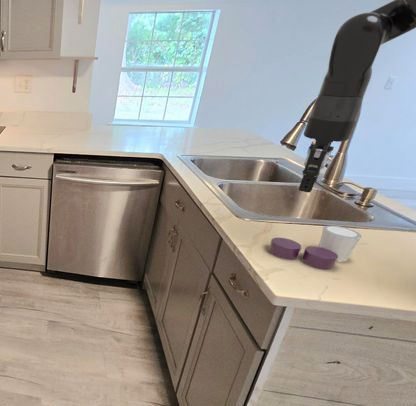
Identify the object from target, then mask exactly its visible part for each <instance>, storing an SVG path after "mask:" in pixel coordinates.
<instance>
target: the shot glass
mask: <svg viewBox="0 0 416 406" xmlns="http://www.w3.org/2000/svg"><path fill="white" fill-rule="evenodd" d="M361 238H362V235H361V234H360V233H359V232H358V231H356V230H354V229H351V228H348V227H344V226H339V225H324V226H323V227H322V231H321V236H320V240H319V244H318V247H321V248H325V249H328V250H330V251H333V252H334V253H336V254H337V255H338V258H337V261H336V262H338V263H345V262H347V261H348V260H349V257H350V256H351V254H352V253H353V251H354V249H355V248H356V246H357V244H358V243H359V242H360V239H361Z"/></svg>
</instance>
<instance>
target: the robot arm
mask: <svg viewBox="0 0 416 406" xmlns="http://www.w3.org/2000/svg"><path fill="white" fill-rule="evenodd" d="M415 29H416V0H392V1H390V2H388V3H386V4H384V5H382V6H380V7H378V8H376V9H374V10H372V11H369V12H362V13H359V14H356V15H354V16H352V17H350V18H348V19H347V20H345V22H343V23H342V25H340V27H339V28H338V30H337V32H336V34H335V36H334V40H333V42H332V46H331V50H330V56H329V61H328V65H327V69H326V73H325V74H324V75H325V76H324V77H323V80H322V83H321V86H320V89H319V92H318V95H317V97H316V98H315V101H314V103H313V105H312V107H311V111H310V114H309V116H308V120H307V122H306V126H305V128H304V130H303V136H304V137H305V138H307V139H310V140H315V143H310V145H309V146H308V149H307V152H306V154H307V155H306V157H305V160H304V163H303V164H304V169H303V170H302V178H301V181H300V184H299V186H298V191H299V192H303V193H311V192H312V190H313V188H314V186H315V183H317V181H318V178H319V176H320V173H321V170H322V169H324V168H326V167H325V166H326V164H327V162H328V160H329V158H331V156H332V153H333V151H334V148H335V147H334V146H332V143H334V142H336V143H338V142H339V143H341V142H345V141H348V140H349V139H350V137H351V134H352V132H353V130H354V127H355V125H356V122H357V119H358V116H359V115H360V112H361V109H362V106H363V101H364V96H365V94H366V91H367V89H368V87H369V84H370V81H371V79H372V75H373V65H374V63H375V60H376V57H377V55H378V52H379V51H380V47H381V46H382V45H384V44H386V43H388V42H390V41H392V40H394V39H397V38H398V37H400V36H402V35H404V34H407V33H409V32H411V31H412V30H415Z"/></svg>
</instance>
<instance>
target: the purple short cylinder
mask: <svg viewBox="0 0 416 406" xmlns="http://www.w3.org/2000/svg"><path fill="white" fill-rule="evenodd" d="M337 258H338V255H337V254H336V253H334V252H333V251H330V250H328V249H325V248H321V247H319V246H315V245H310V246H306V247H305V248H304V251H303V253H302V256H301V257H300V259H301V261H302V262H303V263H304V264H306V265H307V266H309V267H312V268H315V269H319V270H329V271H330V270H333V269H334V268H335V265H336V263H337V262H338V261H337Z"/></svg>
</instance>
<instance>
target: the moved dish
mask: <svg viewBox="0 0 416 406" xmlns="http://www.w3.org/2000/svg"><path fill="white" fill-rule="evenodd" d="M267 249H268V250H267V251H268V253H270V254H271V255H272V256H275V257H278V258H281V259H284V260H297V259H298V258H299V255H300V252H301V250H302V245H301V244H300V243H299V242H297V241H295V240H293V239H289V238H287V237H286V238H285V237H273V238H272V239H271V240H270V243H269V246H268V248H267Z"/></svg>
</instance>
